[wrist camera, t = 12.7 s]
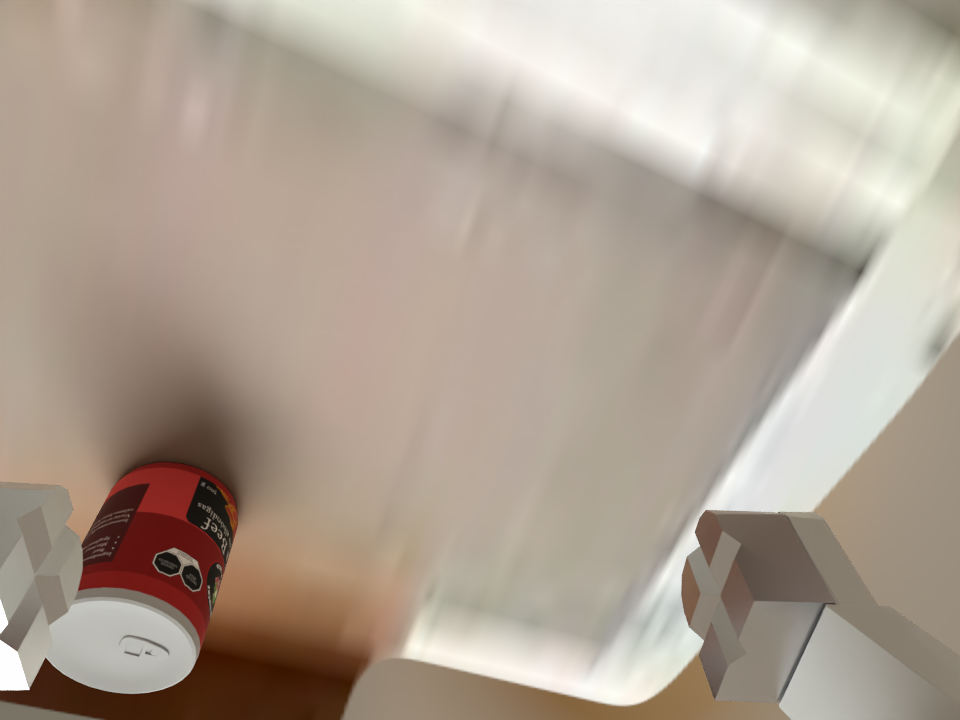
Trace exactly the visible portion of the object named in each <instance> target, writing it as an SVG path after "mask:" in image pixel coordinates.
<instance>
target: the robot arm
mask: <svg viewBox="0 0 960 720" xmlns="http://www.w3.org/2000/svg"><path fill="white" fill-rule="evenodd" d="M72 511H73V507H72V503H71V500H70V496H69V493H68V490H67V489H65V488H63V487H62V486H60V485H46V484H29V483H13V482H0V690H29V688H30V686H31V684H32V682H33V680H34V678H35V677H36V675H37V673H38V671H39V669H40V667H41V665H42V663H43V661H44V659H45V657H46V655H47V653H48V651H49V649H50V647H51V645H52V643H53V640H52V637H51V633H50V629H49V625H50V624H52V623H53V622H55V621H56V620H58V619H59V618H60V617H62V616H63V615H65V614H66V613H67V612H68V611H69V609H70V607H71V605H72V603H73V601H74V599H75V597H76V594H77V592H78V588H79V583H80V579H81V575H82V570H83V551H82V546H81V541H80V537H79V536H78V535H77V534H76V533H75V532H74V531H72V530H71V529H70V528H69V527H68V526H67V525H65V524H66V522H67V520H68V519H69V517H70V515H71V513H72ZM695 534H696V536H697V539H698V541H699V544H700V547H699V548H697V549H696V550H695V551H694V552H692V553H691V554H690V555H688V556H687V559H686V562H685V566H684V570H683V573H682V592H681V596H682V602H683V608H684V612H685V615H686V618H687V622H688V625H689V627H690V628H691V629H692V630H693V631H694V632H695V633H697V634H698V635H699V636H700V637H701V638H702V639H703V640H704V643H703V646H702V649H701V652H700V654H699V657H700V660H701V662H702V665H703V668H704V671H705V674H706V677H707V679H708V682H709V685H710V688H711V691H712V694H713V696H714V699H715V700H721V701H744V702H767V703H780V705H779V707H780V708H781V709H782V710H783V711H784V712H785V713H786V714H787V716H789V718H790V719H791V720H960V655H959V654H958V653H956V652H955V651H953V650H952V649H950V648H949V647H948V646H946V645H945V644H943V643H942V642H940V641H939V640H937V639H936V638H934V637H933V636H932V635H930V634H929V633H927V632H926V631H924V630H923V629H921V628H920V627H919V626H917V625H916V624H914V623H913V622H911V621H910V620H908V619H907V618H906V617H904V616H902V615H901V614H900V613H898V612H897V611H896V610H894V609H893V608H891V607H887V606H878V604H877V603H876V601H875V600H874V598H873V596H872V595H871V593H870V592H869V590H868V588H867V587H866V585H865V584H864V582H863V580H862V579H861V577H860V576H859V574H858V572H857V571H856V569H855V568H854V566H853V565H852V563H851V561H850V560H849V558H848V556H847V555H846V553H845V552H844V550H843V549H842V547H841V545H840V544H839V542H838V540H837V539H836V537H835V536H834V534H833V532H832V531H831V529H830V528H829V526H828V524H827V523H826V521H825V520H824V518H822V517H821V516H820V515H818V514H817V513H814V512H778V513H775V512H749V511H717V510H706V511H705V512H704V513H703V514H702V516H701V517H700V519H699V522H698V525H697V527H696V530H695Z"/></svg>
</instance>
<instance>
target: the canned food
mask: <svg viewBox="0 0 960 720" xmlns="http://www.w3.org/2000/svg"><path fill="white" fill-rule="evenodd" d="M237 525H238V518H237V509H236V504H235V501H234V498H233V497H232V495H231V493H230V492H229V490H228V489H227V488H226V487H225V486H224V485H223V484H222V483H221V482H220V481H219V480H217V479H216V478H215V477H213V476H212V475H210V474H208V473H207V472H205V471H203V470H200V469H198V468H195V467H192V466H189V465H185V464H180V463H170V462H161V463H152V464H148V465H143V466H141V467H139V468H136V469H134V470H132V471H131V472H130V473H128V474H127V475H126V476H124V477H123V478H122V479H121V480H119V481H118V482H117V483H116V485H115V486H114V487H113V488H112V490H111V491H110V493H109V495H108V497H107V499H106V501H105V502H104V504H103V506H102V508H101V510H100V512H99V513H98V515H97V517H96V519H95V521H94V523H93V525H92V526H91V528H90V530H89V532H88V534H87V536H86V537H85V539H84V541H83V543H82V545H81V546H82V551H83V570H82V575H81V579H80V583H79V588H78V592H77V594H76V597H75V599H74V601H73V603H72V605H71V607H70V609H69V611H68V612H67V613H66V614H65V615H63V616H62V617H60V618H59V619H58V620H56V621H55V622H53V623H52V624H50V625H49V629H50V633H51V637H52V640H53V643H52V645H51V647H50V649H49V651H48V653H47V655H46V658H47V659H48V660H49V661H50V662H51V664H52V665H53V666H54V667H56V668H57V669H58V670H59V671H61V672H62V673H63V674H65V675H67V676H68V677H70V678H72V679H74V680H75V681H77V682H80V683H82V684H85V685H87V686H90V687H93V688H97V689H101V690H104V691H111V692H117V693H133V694H135V693H148V692H153V691H158V690H162V689H165V688H167V687H170V686H173V685H174V684H176V683H178V682H179V681H181V680H183V679H184V678H185V677H186V676H187V675H188V674H189V673H190V671H191V670H192V668H193V666H194V664H195V661H196V659H197V658H198V656H199V652H200V649H201V646H202V643H203V640H204V637H205V634H206V631H207V627H208V624H209V621H210V617H211V614H212V611H213V607H214V604H215V600H216V597H217V594H218V590H219V587H220V584H221V580H222V577H223V574H224V570H225V567H226V564H227V560H228V557H229V554H230V550H231V547H232V544H233V540H234V537H235V534H236V530H237Z"/></svg>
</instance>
